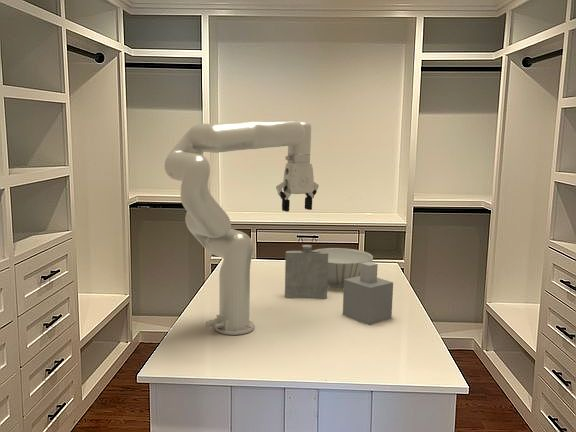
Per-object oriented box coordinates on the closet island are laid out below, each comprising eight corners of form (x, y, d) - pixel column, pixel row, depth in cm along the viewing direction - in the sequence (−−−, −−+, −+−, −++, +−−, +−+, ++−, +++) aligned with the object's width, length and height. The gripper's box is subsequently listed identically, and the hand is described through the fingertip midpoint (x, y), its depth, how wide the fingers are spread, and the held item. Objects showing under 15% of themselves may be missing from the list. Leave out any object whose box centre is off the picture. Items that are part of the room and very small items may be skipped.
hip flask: (284, 298, 212) (285, 246, 209) (285, 295, 216) (285, 243, 213) (327, 299, 212) (328, 247, 209) (326, 296, 216) (328, 244, 213)
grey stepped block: (368, 324, 185) (370, 269, 182) (342, 314, 195) (344, 262, 192) (391, 318, 192) (394, 265, 189) (365, 308, 202) (367, 257, 199)
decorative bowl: (354, 297, 215) (356, 266, 213) (294, 285, 228) (295, 256, 226) (381, 281, 237) (383, 253, 235) (325, 271, 251) (326, 245, 249)
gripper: (284, 160, 180) (283, 213, 183) (325, 159, 191) (323, 210, 193) (271, 158, 186) (269, 210, 189) (311, 158, 197) (309, 207, 199)
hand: (297, 210), depth 191 cm, fingers open, 9 cm apart
